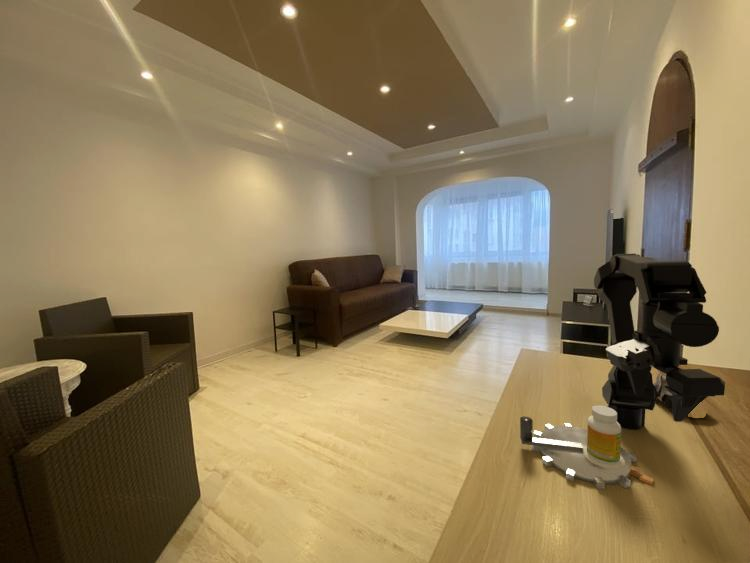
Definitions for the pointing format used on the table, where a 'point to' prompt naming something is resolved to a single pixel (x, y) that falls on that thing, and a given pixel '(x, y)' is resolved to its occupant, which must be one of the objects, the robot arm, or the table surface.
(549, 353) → the table surface
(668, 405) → the caster wheel
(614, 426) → the supplement bottle
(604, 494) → the table surface
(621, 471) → the sprocket
